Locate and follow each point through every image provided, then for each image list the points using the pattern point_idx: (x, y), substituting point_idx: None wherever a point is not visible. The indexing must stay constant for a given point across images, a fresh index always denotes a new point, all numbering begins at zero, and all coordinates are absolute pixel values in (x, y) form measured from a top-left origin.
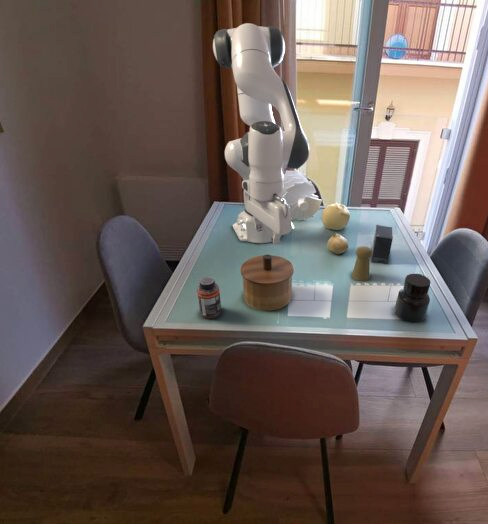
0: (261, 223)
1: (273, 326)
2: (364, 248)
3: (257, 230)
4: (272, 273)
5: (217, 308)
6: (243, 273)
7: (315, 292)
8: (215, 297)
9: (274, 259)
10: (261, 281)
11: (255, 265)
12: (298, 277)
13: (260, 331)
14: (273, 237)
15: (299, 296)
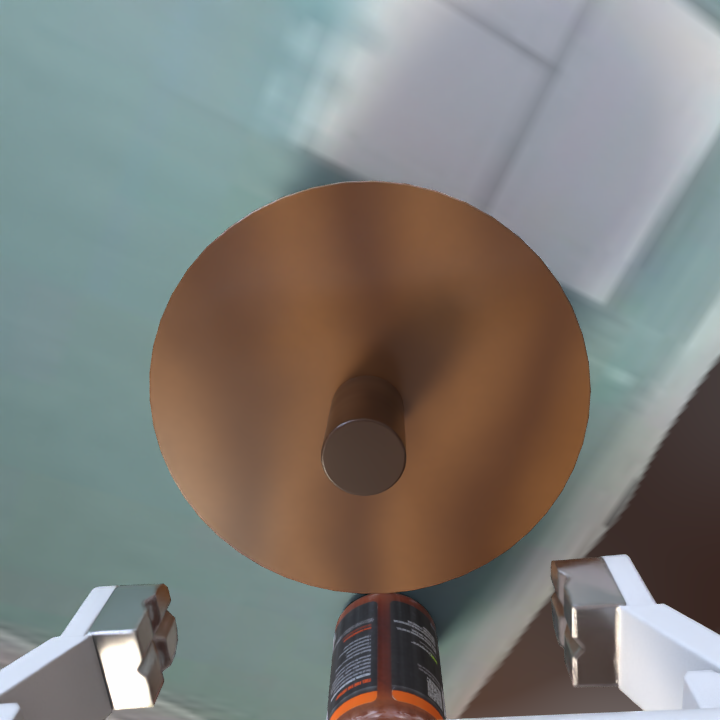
0: (83, 642)
1: (639, 411)
2: None
3: (166, 655)
4: (458, 404)
5: (435, 648)
6: (362, 583)
7: (477, 10)
8: (443, 712)
9: (253, 298)
10: (522, 516)
11: (288, 472)
12: (249, 36)
13: (637, 481)
14: (654, 709)
15: (466, 146)
